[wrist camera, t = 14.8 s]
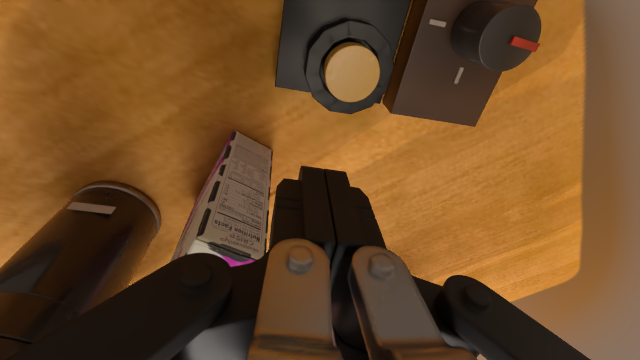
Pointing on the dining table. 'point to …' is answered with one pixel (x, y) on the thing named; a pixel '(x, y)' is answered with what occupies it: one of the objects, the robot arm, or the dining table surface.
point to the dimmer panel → (438, 68)
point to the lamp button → (351, 71)
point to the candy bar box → (232, 205)
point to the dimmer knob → (496, 34)
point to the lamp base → (336, 43)
